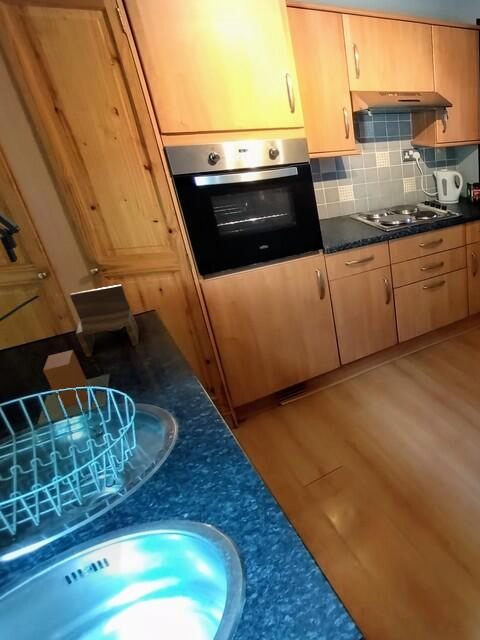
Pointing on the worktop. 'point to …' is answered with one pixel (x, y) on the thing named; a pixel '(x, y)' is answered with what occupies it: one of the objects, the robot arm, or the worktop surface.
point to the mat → (57, 413)
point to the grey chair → (102, 314)
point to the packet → (66, 377)
